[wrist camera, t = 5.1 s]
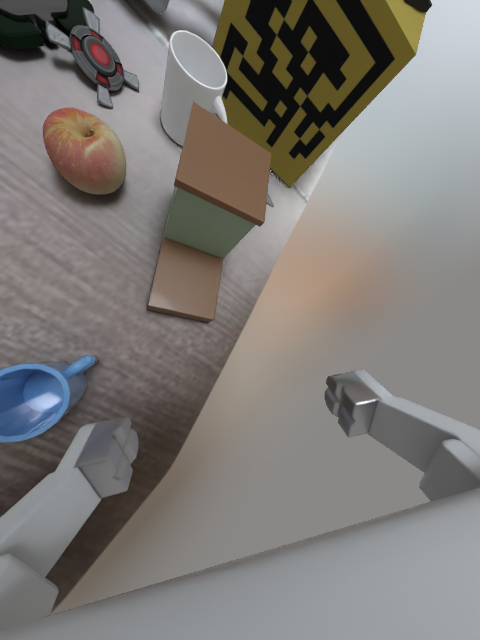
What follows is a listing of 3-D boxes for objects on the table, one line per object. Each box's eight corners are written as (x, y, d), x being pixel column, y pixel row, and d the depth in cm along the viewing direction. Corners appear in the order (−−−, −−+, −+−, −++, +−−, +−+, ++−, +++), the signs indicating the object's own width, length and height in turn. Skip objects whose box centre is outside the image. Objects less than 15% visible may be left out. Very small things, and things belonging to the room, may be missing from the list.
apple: (64, 204, 29) (43, 156, 22) (49, 144, 29) (24, 77, 22) (133, 207, 33) (134, 167, 26) (119, 154, 34) (116, 101, 27)
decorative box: (312, 131, 67) (430, -17, 42) (286, 195, 49) (461, 5, 25) (250, 57, 58) (352, -183, 34) (191, 101, 41) (314, -327, 16)
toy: (56, 83, 29) (57, 76, 28) (35, -25, 27) (36, -37, 26) (143, 124, 38) (146, 119, 37) (132, 43, 36) (135, 36, 35)
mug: (199, 173, 40) (221, 117, 31) (149, 116, 37) (155, 34, 28) (225, 155, 44) (252, 101, 34) (181, 102, 41) (197, 25, 31)
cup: (46, 426, 25) (8, 459, 17) (5, 388, 24) (-57, 403, 16) (115, 374, 29) (111, 380, 21) (83, 338, 28) (64, 331, 20)
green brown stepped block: (143, 308, 32) (153, 275, 19) (170, 192, 37) (193, 101, 24) (210, 323, 36) (256, 304, 23) (226, 217, 41) (271, 153, 28)
